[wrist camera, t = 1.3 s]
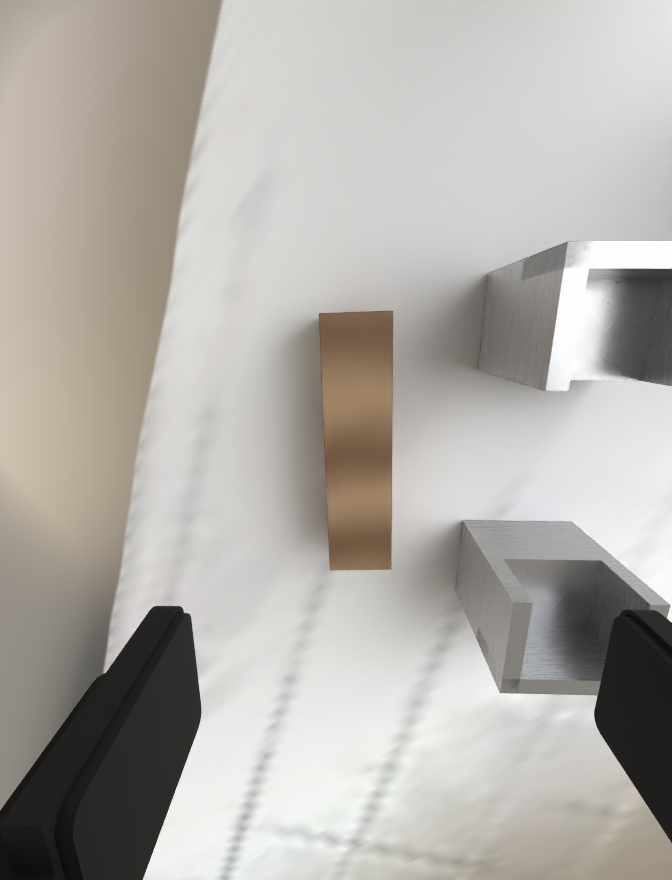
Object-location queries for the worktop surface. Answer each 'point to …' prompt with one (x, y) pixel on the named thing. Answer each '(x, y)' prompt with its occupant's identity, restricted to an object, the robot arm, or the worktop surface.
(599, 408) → the worktop surface
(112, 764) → the robot arm
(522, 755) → the worktop surface
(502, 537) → the brackets
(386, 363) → the walnut rail
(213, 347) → the worktop surface
